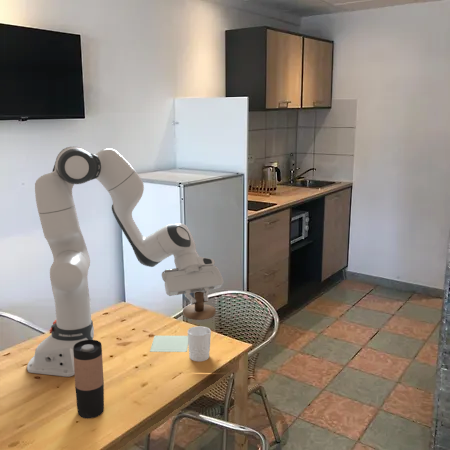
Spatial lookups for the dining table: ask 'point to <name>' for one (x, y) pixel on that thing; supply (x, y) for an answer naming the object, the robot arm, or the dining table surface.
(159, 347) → the mat
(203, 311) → the lid
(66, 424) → the dining table surface
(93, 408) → the travel mug
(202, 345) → the white cup
